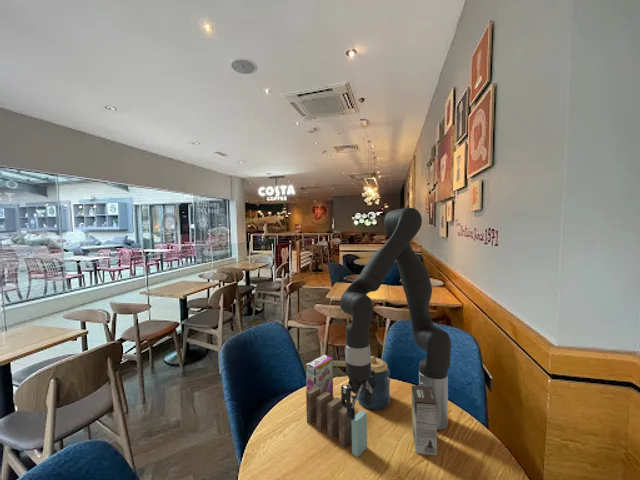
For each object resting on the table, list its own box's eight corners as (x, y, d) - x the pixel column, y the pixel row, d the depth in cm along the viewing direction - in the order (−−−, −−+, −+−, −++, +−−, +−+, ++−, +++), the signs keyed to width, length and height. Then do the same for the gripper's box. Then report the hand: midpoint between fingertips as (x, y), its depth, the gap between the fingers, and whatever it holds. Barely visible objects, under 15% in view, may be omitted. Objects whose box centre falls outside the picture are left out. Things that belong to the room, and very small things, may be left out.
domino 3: (342, 431, 92) (341, 399, 91) (332, 440, 88) (331, 406, 88) (337, 428, 93) (337, 397, 93) (327, 437, 90) (327, 403, 89)
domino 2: (331, 424, 95) (330, 393, 95) (321, 432, 92) (320, 400, 91) (327, 422, 97) (326, 391, 96) (316, 429, 93) (316, 397, 93)
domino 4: (354, 439, 88) (353, 405, 88) (344, 448, 85) (343, 413, 84) (349, 436, 90) (348, 403, 89) (339, 445, 86) (338, 410, 86)
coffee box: (411, 431, 91) (411, 384, 91) (432, 434, 90) (431, 385, 89) (415, 453, 82) (415, 401, 82) (438, 456, 81) (437, 403, 80)
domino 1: (320, 418, 99) (320, 388, 98) (310, 425, 95) (310, 394, 95) (316, 415, 100) (316, 385, 100) (306, 422, 97) (306, 391, 96)
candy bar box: (315, 411, 103) (314, 368, 102) (306, 406, 106) (305, 363, 105) (334, 397, 111) (333, 357, 110) (324, 392, 114) (323, 353, 114)
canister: (351, 393, 113) (351, 351, 112) (380, 388, 116) (379, 347, 116) (365, 413, 100) (364, 366, 100) (396, 407, 104) (396, 361, 103)
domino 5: (367, 447, 85) (366, 412, 84) (357, 457, 81) (356, 421, 81) (361, 444, 86) (361, 409, 86) (352, 453, 83) (351, 418, 82)
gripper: (353, 372, 75) (355, 430, 75) (381, 353, 85) (383, 405, 86) (333, 363, 80) (335, 417, 81) (361, 347, 90) (363, 395, 91)
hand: (360, 411), depth 83 cm, fingers open, 8 cm apart
